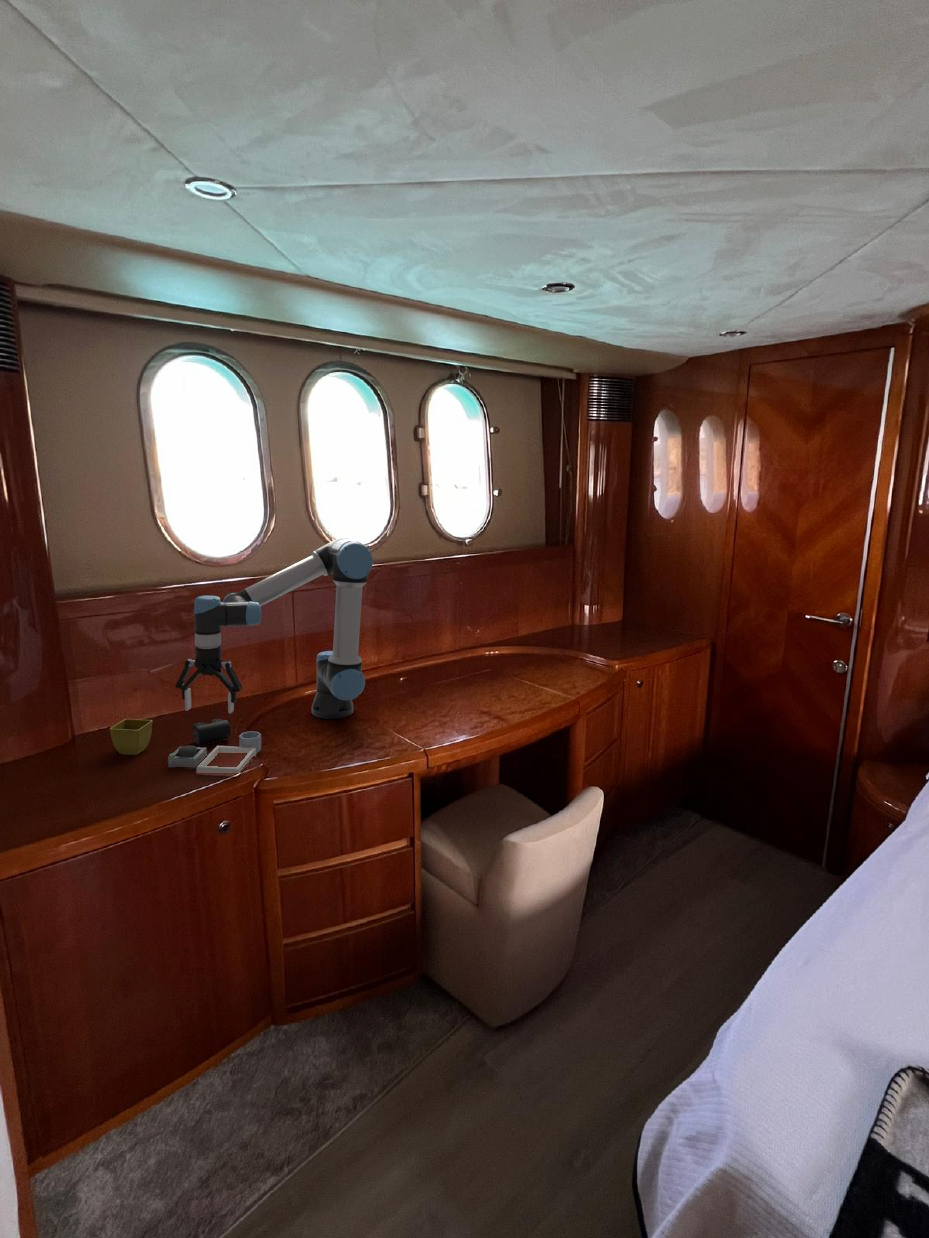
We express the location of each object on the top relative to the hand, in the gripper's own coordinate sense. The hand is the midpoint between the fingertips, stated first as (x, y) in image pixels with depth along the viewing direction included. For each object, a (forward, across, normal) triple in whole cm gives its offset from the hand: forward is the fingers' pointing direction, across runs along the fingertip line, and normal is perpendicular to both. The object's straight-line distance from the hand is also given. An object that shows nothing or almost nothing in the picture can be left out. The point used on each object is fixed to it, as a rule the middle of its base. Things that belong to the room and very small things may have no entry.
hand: (209, 710), depth 201 cm
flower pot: (+11, +20, +10) cm, 25 cm away
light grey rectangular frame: (+11, -11, +15) cm, 22 cm away
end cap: (+11, 0, 0) cm, 11 cm away
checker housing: (+11, +1, +15) cm, 18 cm away
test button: (+9, +1, +15) cm, 18 cm away
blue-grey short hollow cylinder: (+11, -14, +4) cm, 18 cm away
